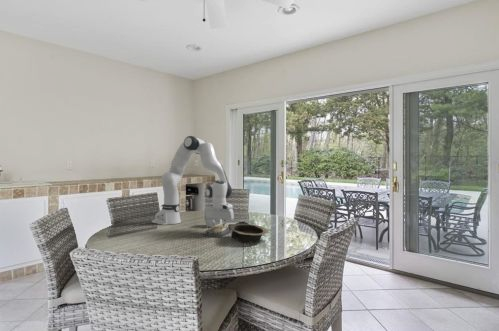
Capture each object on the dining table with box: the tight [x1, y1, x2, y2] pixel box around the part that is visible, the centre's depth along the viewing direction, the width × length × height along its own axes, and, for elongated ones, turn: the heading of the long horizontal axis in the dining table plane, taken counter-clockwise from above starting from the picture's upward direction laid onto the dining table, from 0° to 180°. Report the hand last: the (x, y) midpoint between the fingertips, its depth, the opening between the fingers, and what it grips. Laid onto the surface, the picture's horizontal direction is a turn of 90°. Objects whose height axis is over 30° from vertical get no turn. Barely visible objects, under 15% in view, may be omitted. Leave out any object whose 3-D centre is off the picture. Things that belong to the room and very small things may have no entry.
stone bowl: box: [227, 221, 269, 244], centre depth 178 cm, size 25×25×9 cm
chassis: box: [201, 223, 232, 239], centre depth 194 cm, size 14×21×4 cm, turn 156°
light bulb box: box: [205, 217, 223, 228], centre depth 213 cm, size 11×7×11 cm, turn 84°
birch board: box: [210, 222, 228, 233], centre depth 194 cm, size 5×13×3 cm, turn 156°
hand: (219, 225), depth 194 cm, fingers open, 6 cm apart
